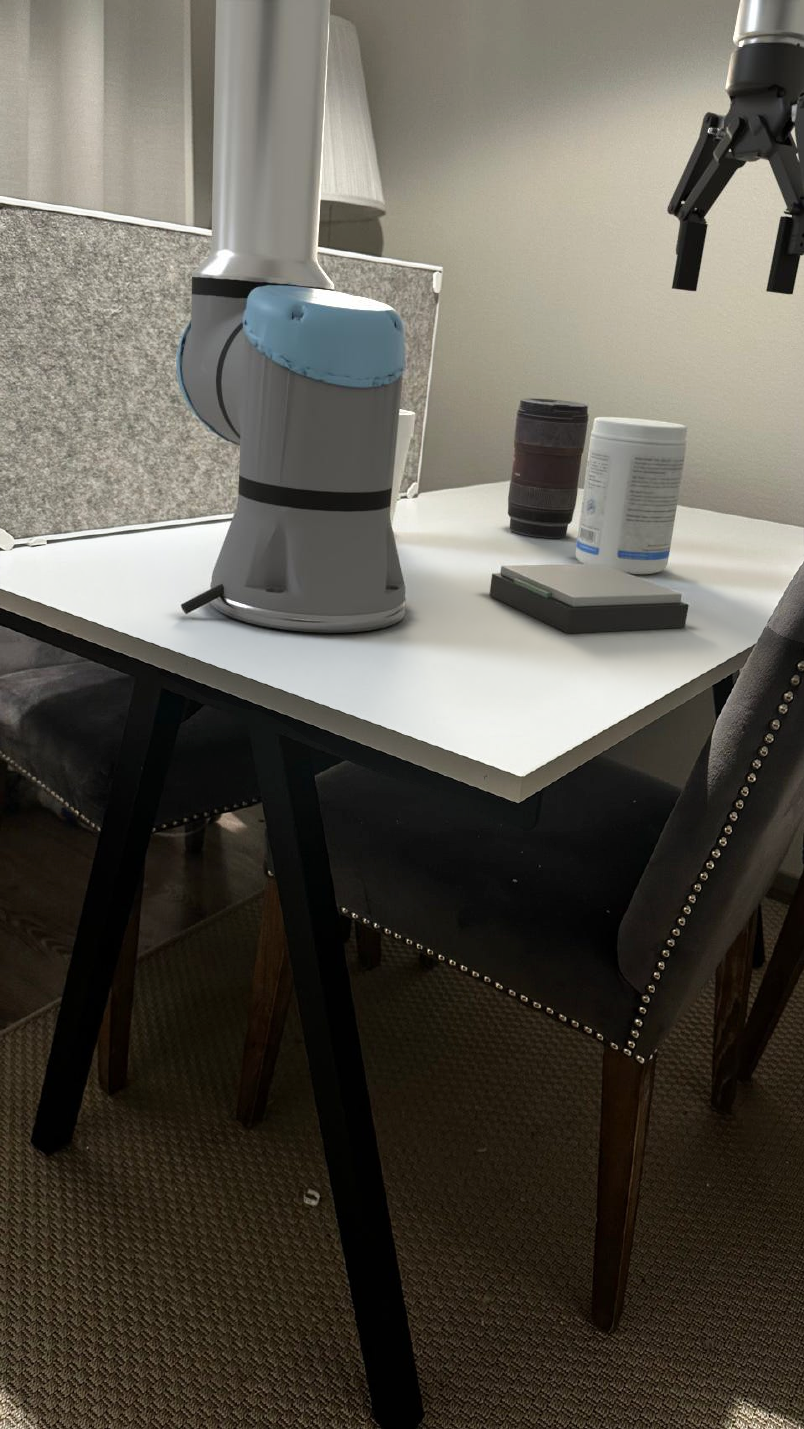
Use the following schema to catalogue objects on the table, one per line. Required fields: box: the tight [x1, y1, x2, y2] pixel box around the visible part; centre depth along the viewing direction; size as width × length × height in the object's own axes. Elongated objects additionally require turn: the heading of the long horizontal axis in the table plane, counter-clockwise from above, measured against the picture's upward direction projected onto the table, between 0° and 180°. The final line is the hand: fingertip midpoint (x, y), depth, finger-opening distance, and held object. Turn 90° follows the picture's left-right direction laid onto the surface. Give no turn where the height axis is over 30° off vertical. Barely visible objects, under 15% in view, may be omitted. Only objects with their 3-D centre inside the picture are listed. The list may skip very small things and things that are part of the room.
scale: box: [489, 563, 690, 634], centre depth 93 cm, size 12×12×3 cm
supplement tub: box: [575, 416, 688, 575], centre depth 112 cm, size 10×10×15 cm
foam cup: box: [390, 408, 416, 526], centre depth 116 cm, size 10×9×13 cm
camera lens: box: [507, 397, 590, 539], centre depth 126 cm, size 8×8×15 cm
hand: (729, 292), depth 109 cm, fingers open, 13 cm apart
